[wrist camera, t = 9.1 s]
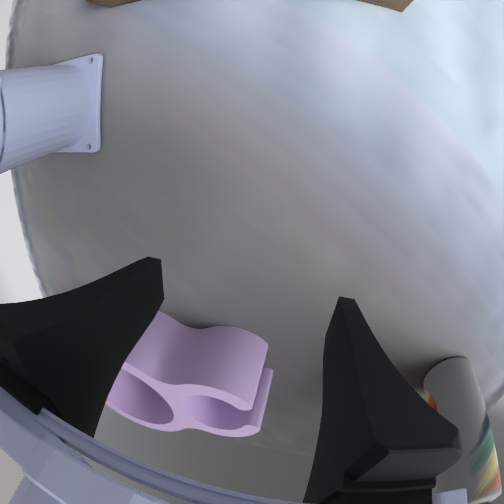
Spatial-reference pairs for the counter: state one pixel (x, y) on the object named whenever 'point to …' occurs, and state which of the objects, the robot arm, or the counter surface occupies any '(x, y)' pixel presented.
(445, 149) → the counter surface
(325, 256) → the counter surface
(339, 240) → the counter surface
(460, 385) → the lotion bottle
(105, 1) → the board
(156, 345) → the clip
